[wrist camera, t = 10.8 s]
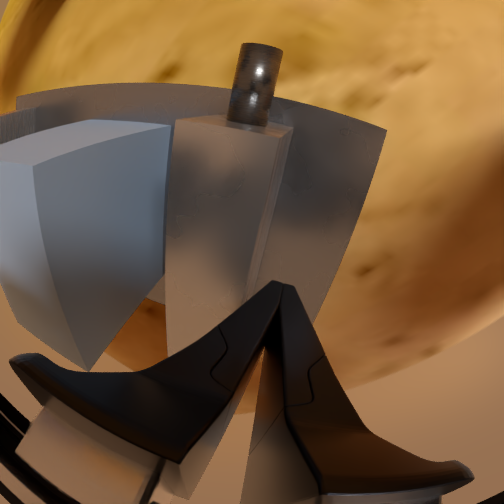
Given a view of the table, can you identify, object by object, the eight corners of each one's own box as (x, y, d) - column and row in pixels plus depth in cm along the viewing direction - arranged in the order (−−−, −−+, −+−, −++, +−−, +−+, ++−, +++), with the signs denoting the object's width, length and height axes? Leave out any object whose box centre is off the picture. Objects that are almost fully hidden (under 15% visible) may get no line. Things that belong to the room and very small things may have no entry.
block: (171, 125, 10) (32, 165, 4) (162, 276, 14) (88, 372, 9) (89, 119, 11) (-30, 156, 5) (95, 251, 15) (17, 322, 9)
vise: (381, 128, 9) (447, 151, 4) (302, 335, 16) (288, 429, 10) (27, 94, 11) (-44, 114, 6) (37, 239, 18) (-14, 278, 12)
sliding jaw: (308, 68, 8) (302, 38, 4) (238, 348, 16) (217, 409, 12) (241, 56, 8) (192, 27, 5) (199, 335, 16) (171, 392, 12)
